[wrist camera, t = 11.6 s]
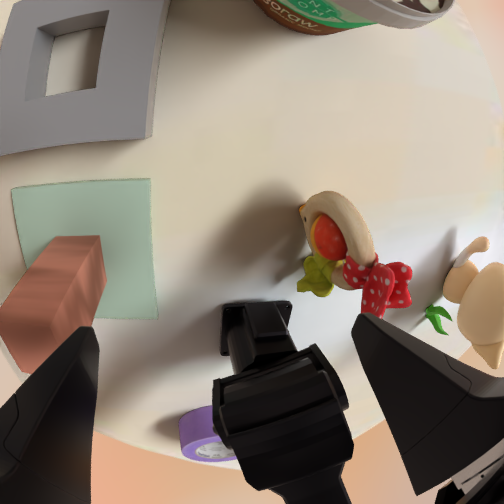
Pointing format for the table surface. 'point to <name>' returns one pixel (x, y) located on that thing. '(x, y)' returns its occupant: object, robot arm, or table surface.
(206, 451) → the tape roll
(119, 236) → the board
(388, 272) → the bird rattle
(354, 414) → the table surface
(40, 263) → the peg
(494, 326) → the kitten
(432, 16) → the food container
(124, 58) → the pocket block
